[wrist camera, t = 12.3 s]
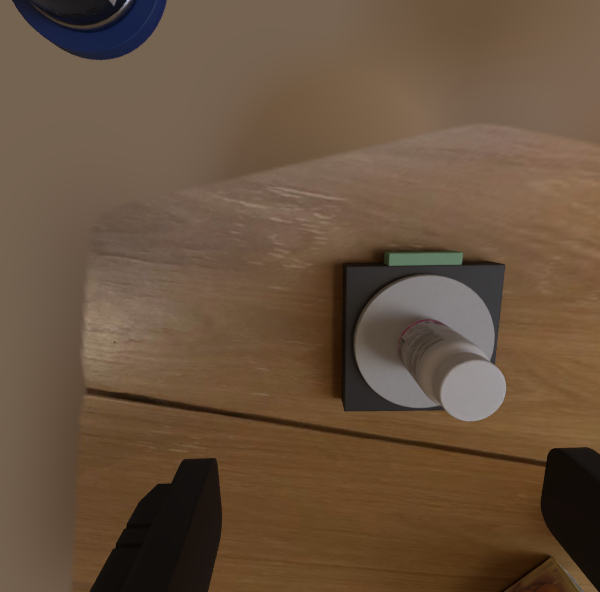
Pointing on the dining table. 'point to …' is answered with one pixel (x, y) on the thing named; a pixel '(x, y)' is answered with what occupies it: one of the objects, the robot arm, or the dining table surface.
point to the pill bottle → (451, 370)
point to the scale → (410, 320)
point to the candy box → (547, 580)
